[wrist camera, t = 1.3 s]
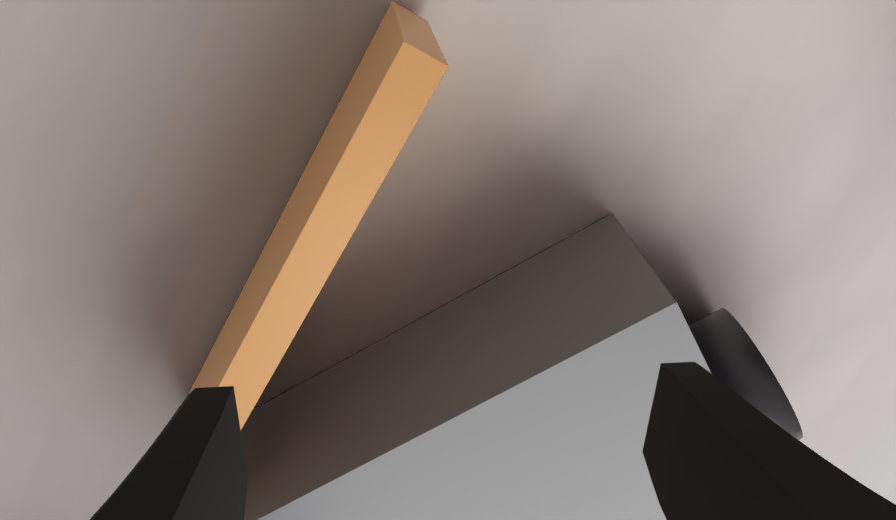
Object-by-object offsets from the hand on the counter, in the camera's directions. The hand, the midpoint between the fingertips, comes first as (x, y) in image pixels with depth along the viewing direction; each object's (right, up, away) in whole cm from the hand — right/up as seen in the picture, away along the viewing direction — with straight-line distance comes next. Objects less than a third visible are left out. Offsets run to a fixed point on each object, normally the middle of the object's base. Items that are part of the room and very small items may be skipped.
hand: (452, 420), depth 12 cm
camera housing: (+1, -4, +14) cm, 14 cm away
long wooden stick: (-5, +3, +8) cm, 10 cm away
